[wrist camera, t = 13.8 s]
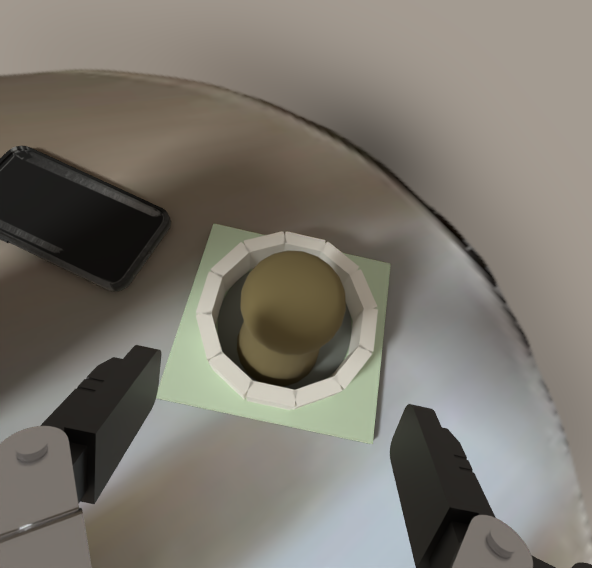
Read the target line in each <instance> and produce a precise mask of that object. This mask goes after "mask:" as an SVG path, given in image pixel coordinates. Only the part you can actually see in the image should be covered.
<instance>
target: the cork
mask: <svg viewBox="0 0 592 568" xmlns="http://www.w3.org/2000/svg"><path fill="white" fill-rule="evenodd" d="M240 307H241V312H242V316H243V319H244V322H243V324H242V327H241V329H240V332H239V334H238V336H237V353H238V356H239V360H240V363H241V364H242V366H243V367H244V369H245V370H246V372H247V373H248V374H249V375H250V376H251V377H253V378H254V379H255V380H256V381H258V382H261V383H265V384H270V385H275V386H279V387H285V386H288V385H291V384H294V383H297V382H299V381H300V380H301V379H303V378H304V377H305V376H307V375H308V374H309V373H310V371H311V370H312V368H313V367H314V365H315V364H316V361H317V357H318V354H319V350H320V348H321V347H322V346H324V345H325V344H326V343H328V342H329V341H330V340H331V339H332V338H333V337H334V335H335V334H336V332H337V331H338V330H339V328H340V327H341V325H342V322H343V318H344V314H345V311H346V301H345V290H344V287H343V285H342V282H341V280H340V277H339V276H338V275H337V273H336V272H335V271H334V270H333V268H332V267H331V266H330V265H329V264H328V263H326V262H325V261H323V260H322V259H320V258H319V257H318V256H315V255H312V254H309V253H306V252H303V251H289V250H287V251H283V252H279V253H275V254H272V255H270V256H268V257H267V258H265V259H263V260H262V261H260V262H259V263H258V264H257V265H256V266H255V268H254V269H253V270H252V271H251V272H250V273H249V275H248V276H247V278H246V281H245V283H244V285H243V288H242V290H241V306H240Z"/></svg>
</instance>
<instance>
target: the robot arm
mask: <svg viewBox="0 0 592 568" xmlns="http://www.w3.org/2000/svg"><path fill="white" fill-rule="evenodd" d="M160 363H161V351H160V350H158V349H153V348H148V347H144V346H139V345H135V346H134V347H133V348H132V349H131V350H130V352H129V353H128V354H127V355H126V356H125V357H124V358H123V359H120V358H115V357H113V358H111V359H109V360H107V361H106V362H104V363H102V364H100V365H98V366H97V367H96V368H95V369H94V370H93V371H92V372H91V373H90V374H89V375H88V376H87V379H84V380H83V382H82V383H81V384H80V385H79V386H78V388H77V389H75V390H74V391H73V392H72V393H71V394H70V395H69V396H68V397H67V398H66V399H65V400H64V401H63V403H62V404H61V405H60V406H59V407H58V408H57V409H56V410H55V411H54V412H53V413H52V414H51V415H50V416H49V417H48V418H47V419H46V420H45V421H44V422H43V423H42V425H41V426H36V427H31V428H27V429H24V430H21V431H19V432H17V433H15V434H13V435H11V436H9V437H8V438H6V439H5V440H4V441H3V442H2V443H1V444H0V568H92V567H91V560H90V554H89V548H88V541H87V535H86V529H85V523H84V517H83V512H82V509H81V508H79V505H78V504H79V502H80V501H81V502H86V503H91V504H95V502H96V501H97V499H98V497H99V496H100V494H101V492H102V491H103V489H104V487H105V486H106V484H107V482H108V481H109V479H110V477H111V476H112V474H113V472H114V471H115V469H116V467H117V466H118V464H119V462H120V461H121V459H122V457H123V456H124V454H125V452H126V451H127V449H128V447H129V446H130V444H131V442H132V441H133V439H134V437H135V436H136V434H137V432H138V431H139V429H140V427H141V426H142V424H143V422H144V421H145V419H146V418H147V416H148V414H149V413H150V411H151V409H152V407H153V405H154V402H155V399H156V396H157V392H158V384H159V374H160ZM390 460H391V464H392V469H393V473H394V477H395V481H396V486H397V490H398V494H399V498H400V502H401V507H402V511H403V515H404V519H405V524H406V528H407V532H408V536H409V541H410V545H411V549H412V553H413V558H414V562H415V566H416V568H555V567H553V566H551V565H549V564H547V563H545V562H543V561H541V560H539V559H537V558H535V557H534V556H532V555H531V553H530V551H529V549H528V547H527V545H526V544H525V542H524V541H523V540H522V538H521V537H520V536H519V535H518V534H517V533H516V532H515V531H514V530H513V529H512V528H511V527H509V526H508V525H507V524H505V523H504V522H502V521H501V520H499V519H497V518H495V516H494V513H493V511H492V509H491V507H490V505H489V503H488V501H487V499H486V497H485V495H484V492H483V490H482V488H481V486H480V484H479V482H478V480H477V478H476V476H475V474H474V473H473V472H472V470H473V469H472V467H471V465H470V463H469V461H468V460H467V457H466V455H465V453H464V451H463V448H462V446H461V444H460V442H459V441H458V440H457V439H456V438H455V437H454V436H453V434H452V433H451V432H450V431H449V430H448V429H446V428H442V427H441V425H440V422H439V420H438V418H437V416H436V413H435V411H434V410H433V409H430V408H425V407H421V406H416V405H411V404H408V405H407V406H406V408H405V410H404V412H403V414H402V417H401V419H400V422H399V424H398V426H397V429H396V431H395V434H394V436H393V438H392V441H391V446H390ZM572 568H592V565H591V564H588V563H576V564H575V565H574V566H573V567H572Z"/></svg>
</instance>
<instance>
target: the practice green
mask: <svg viewBox="0 0 592 568" xmlns="http://www.w3.org/2000/svg"><path fill="white" fill-rule="evenodd" d="M287 250H289V251H303V252H306V253H309V254H312V255H315V256H318V257H319V258H320V259H322V260H323V261H325V262H326V263H328V264H329V265H330V266H331V267H332V268H333V270H334V271H335V272H336V273H337V275H338V276H339V277H340V280H341V282H342V285H343V287H344V290H345V301H346V311H345V314H344V318H343V322H342V325H341V327H340V328H339V330H338V331H337V332H336V334H335V335H334V337H333V338H332V339H331V340H330V341H329V342H328V343H326V344H325V345H324V346H322V347H321V348H320V350H319V354H318V357H317V361H316V364H315V365H314V367H313V368H312V370H311V371H310V373H309V374H308V375H307V376H305V377H304V378H303V379H301V380H300V381H299V382H297V383H294V384H291V385H288V386H285V387H279V386H275V385H270V384H265V383H261V382H258V381H256V380H255V379H254V378H253V377H251V376H250V375H249V374H248V373H247V372H246V370H245V369H244V367H243V366H242V364H241V363H240V360H239V356H238V353H237V336H238V334H239V332H240V329H241V327H242V324H243V322H244V319H243V316H242V312H241V307H240V306H241V290H242V288H243V285H244V283H245V281H246V278H247V276H248V275H249V273H250V272H251V271H252V270H253V269H254V268H255V266H256V265H257V264H258V263H259V262H260V261H262V260H263V259H265V258H267V257H268V256H270V255H272V254H275V253H279V252H283V251H287ZM390 266H391V264H390V263H385V262H381V261H377V260H372V259H368V258H363V257H359V256H355V255H350V254H346V253H342V252H340V251H339V250H338V249H337V248H335V247H334V246H333V245H332V244H330V243H329V242H327V243H326V244H325V240H322V239H318V238H314V237H309V236H305V235H301V234H296V233H292V232H287V231H286V232H285V235H284V232H283V231H282V232H277V233H273V234H269V235H262V234H258V233H254V232H249V231H245V230H240V229H236V228H232V227H227V226H223V225H219V224H213V227H212V230H211V233H210V236H209V239H208V241H207V244H206V247H205V250H204V253H203V256H202V259H201V262H200V265H199V268H198V271H197V274H196V277H195V280H194V283H193V286H192V289H191V292H190V295H189V298H188V301H187V304H186V307H185V310H184V313H183V316H182V319H181V322H180V325H179V328H178V331H177V334H176V337H175V340H174V343H173V346H172V349H171V352H170V355H169V358H168V361H167V364H166V367H165V370H164V373H163V376H162V379H161V382H160V385H159V388H158V392H157V396H156V398H157V399H161V400H166V401H171V402H175V403H180V404H185V405H189V406H194V407H199V408H203V409H208V410H213V411H218V412H222V413H227V414H232V415H236V416H241V417H246V418H251V419H255V420H260V421H265V422H269V423H274V424H279V425H283V426H288V427H293V428H298V429H302V430H307V431H312V432H316V433H321V434H326V435H330V436H335V437H340V438H345V439H349V440H354V441H359V442H363V443H368V444H373V437H374V426H375V416H376V406H377V396H378V386H379V376H380V366H381V356H382V346H383V336H384V326H385V316H386V306H387V296H388V286H389V276H390Z"/></svg>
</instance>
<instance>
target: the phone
mask: <svg viewBox="0 0 592 568" xmlns="http://www.w3.org/2000/svg"><path fill="white" fill-rule="evenodd" d="M170 226H171V221H170V218H169V215H168V213H167V212H166V210H164V209H163V208H161V207H159V206H156V205H154V204H152V203H150V202H148V201H145V200H143V199H141V198H139V197H137V196H135V195H132V194H130V193H128V192H126V191H124V190H122V189H119V188H117V187H115V186H113V185H111V184H109V183H106V182H104V181H102V180H100V179H98V178H95V177H93V176H91V175H89V174H87V173H85V172H82V171H80V170H78V169H76V168H74V167H72V166H69V165H67V164H65V163H63V162H61V161H58V160H56V159H54V158H52V157H50V156H48V155H45V154H43V153H41V152H39V151H37V150H35V149H32V148H30V147H27V146H17V147H14V148H12V149H10V150H9V151H8V152H6V153H5V154H4V155H3V156H2V157H1V158H0V240H2V241H5V242H7V243H11V244H14V245H16V246H18V247H20V248H22V249H24V250H26V251H28V252H30V253H32V254H34V255H36V256H38V257H41V258H43V259H45V260H47V261H49V262H51V263H53V264H55V265H57V266H59V267H61V268H63V269H65V270H68V271H70V272H72V273H74V274H76V275H78V276H80V277H82V278H84V279H86V280H88V281H90V282H92V283H95V284H97V285H99V286H101V287H103V288H105V289H107V290H110V291H120V290H123V289H125V288H126V287H127V286H128V285H129V284H130V283H131V282H132V280H133V279H134V278H135V276H136V275H137V273H138V272H139V271H140V269H141V268H142V266H143V265H144V264H145V262H146V261H147V259H148V258H149V257H150V255H151V254H152V252H153V251H154V250H155V248H156V247H157V245H158V244H159V242H160V241H161V240H162V238H163V237H164V235H165V234H166V233H167V231H168V230H169V228H170ZM148 253H149V254H148ZM146 256H147V257H146ZM145 257H146V258H145ZM143 260H144V261H143ZM133 276H134V277H133Z"/></svg>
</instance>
